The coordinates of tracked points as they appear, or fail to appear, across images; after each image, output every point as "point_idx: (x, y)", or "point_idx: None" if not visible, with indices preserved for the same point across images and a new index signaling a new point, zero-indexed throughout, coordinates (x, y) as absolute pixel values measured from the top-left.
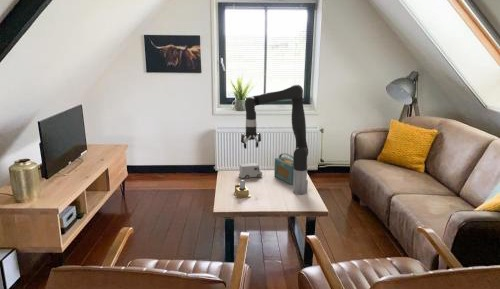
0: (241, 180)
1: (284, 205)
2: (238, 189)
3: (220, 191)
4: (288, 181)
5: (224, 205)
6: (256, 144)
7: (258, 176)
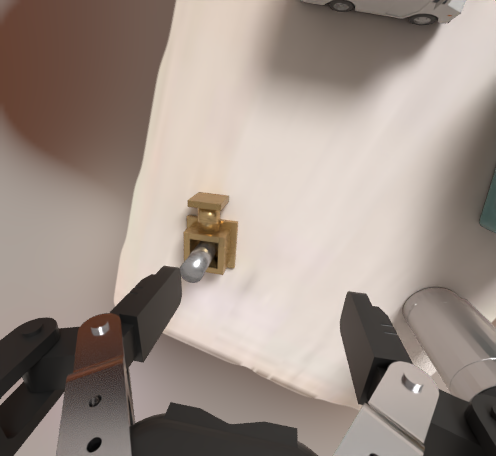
0: (187, 268)
1: (302, 359)
2: (186, 253)
3: (144, 163)
4: (491, 209)
5: (135, 284)
6: (352, 356)
7: (417, 20)
